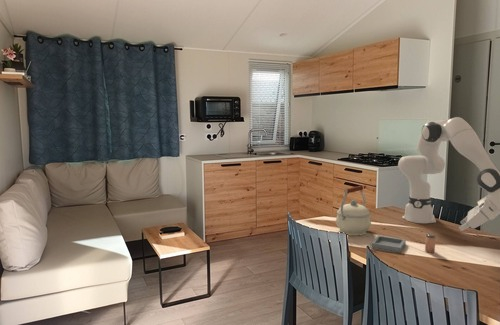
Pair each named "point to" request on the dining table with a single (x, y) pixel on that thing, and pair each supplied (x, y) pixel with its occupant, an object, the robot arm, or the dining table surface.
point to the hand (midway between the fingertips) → (460, 226)
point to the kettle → (353, 215)
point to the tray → (388, 244)
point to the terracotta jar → (430, 243)
